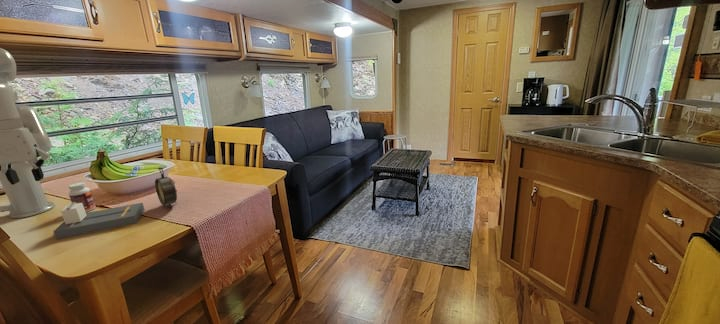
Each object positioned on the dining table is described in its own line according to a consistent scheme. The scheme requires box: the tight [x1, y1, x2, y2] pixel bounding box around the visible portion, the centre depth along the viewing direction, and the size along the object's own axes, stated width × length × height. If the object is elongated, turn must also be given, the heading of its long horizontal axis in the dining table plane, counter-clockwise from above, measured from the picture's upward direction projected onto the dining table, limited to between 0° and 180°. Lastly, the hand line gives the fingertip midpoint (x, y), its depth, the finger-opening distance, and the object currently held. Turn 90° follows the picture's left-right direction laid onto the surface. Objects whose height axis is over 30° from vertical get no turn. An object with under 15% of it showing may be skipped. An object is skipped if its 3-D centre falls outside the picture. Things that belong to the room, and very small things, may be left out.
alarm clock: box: [154, 166, 178, 210], centre depth 115 cm, size 11×5×16 cm, turn 47°
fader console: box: [52, 202, 145, 240], centre depth 105 cm, size 22×12×3 cm, turn 114°
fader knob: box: [60, 202, 87, 224], centre depth 101 cm, size 4×5×6 cm
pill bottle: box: [68, 181, 97, 213], centre depth 116 cm, size 6×6×11 cm
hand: (27, 180), depth 94 cm, fingers open, 5 cm apart
